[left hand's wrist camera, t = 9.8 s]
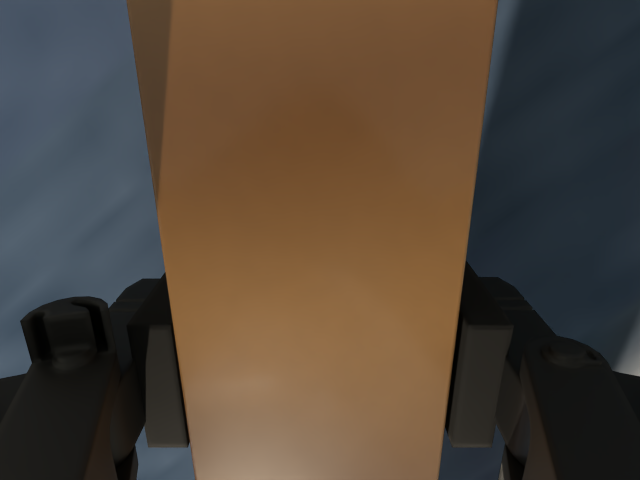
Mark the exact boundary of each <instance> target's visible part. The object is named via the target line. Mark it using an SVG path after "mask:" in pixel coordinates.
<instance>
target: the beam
mask: <svg viewBox="0 0 640 480" xmlns="http://www.w3.org/2000/svg"><path fill="white" fill-rule="evenodd" d="M497 6H498V0H127V7H128V14H129V21H130V28H131V35H132V42H133V49H134V56H135V63H136V70H137V77H138V84H139V91H140V98H141V105H142V112H143V119H144V126H145V133H146V140H147V147H148V154H149V160H150V167H151V174H152V181H153V188H154V195H155V202H156V209H157V216H158V223H159V230H160V237H161V244H162V251H163V258H164V265H165V272H166V279H167V286H168V293H169V300H170V307H171V314H172V321H173V328H174V335H175V342H176V348H177V355H178V362H179V369H180V376H181V383H182V390H183V397H184V404H185V411H186V418H187V425H188V432H189V439H190V446H191V453H192V460H193V467H194V474H195V480H438V477H439V469H440V461H441V453H442V445H443V437H444V429H445V421H446V413H447V405H448V397H449V389H450V381H451V374H452V366H453V358H454V350H455V342H456V334H457V326H458V318H459V310H460V302H461V294H462V286H463V278H464V270H465V262H466V254H467V246H468V238H469V230H470V222H471V214H472V206H473V198H474V190H475V182H476V174H477V166H478V158H479V150H480V142H481V134H482V126H483V118H484V110H485V102H486V94H487V86H488V78H489V70H490V62H491V54H492V46H493V38H494V30H495V22H496V14H497Z"/></svg>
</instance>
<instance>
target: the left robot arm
mask: <svg viewBox="0 0 640 480" xmlns="http://www.w3.org/2000/svg"><path fill="white" fill-rule="evenodd" d="M20 322H21V326H22V329H23V333H24V336H25V340H26V343H27V347H28V351H29V354H30V358H31V361H32V364H31V366H30V368H29V370H28V372H27V373H26V374H22V375H17V376H12V377H6V378H1V379H0V480H136V478H137V470H138V458H137V452H136V447H135V443H136V441H137V439H138V437H139V435H140V433H141V431H142V429H143V427H144V426H145V432H146V437H147V443H148V447H188V445H189V442H190V439H189V432H188V425H187V418H186V411H185V404H184V397H183V390H182V383H181V376H180V369H179V362H178V355H177V348H176V342H175V335H174V328H173V321H172V314H171V307H170V300H169V293H168V286H167V279H166V272H165V273H164V275H163V276H162V277H161V279H141V280H139V281H138V282H136V283H134V284H133V285H131V286H129V287H127V288H126V289H125V290H124V291H123V292H122V294H121V295H120V296H119V297H118V298H117V299H116V302H114V303H113V304H112V305H111V306H110V308H109V309H108V304H107V303H106V302H105V301H103V300H102V299H100V298H95V297H89V296H87V297H71V298H66V299H61V300H57V301H54V302H51V303H48V304H45V305H42V306H40V307H38V308H37V309H35V310H33V311H31V312H29V313H28V314H27V315H26V316H25V317H24V318H23V319H22V320H21V321H20ZM496 424H497V426H498V428H499V430H500V433H501V435H502V437H503V439H504V441H505V447H504V452H503V457H502V463H501V468H500V473H499V478H498V480H640V377H639V376H634V375H629V374H624V373H619V372H615V371H612V369H611V367H610V365H609V364H608V362H607V361H606V360H605V359H604V357H603V356H602V355H601V354H600V353H598V352H597V351H595V350H594V349H592V348H591V347H589V346H588V345H585V344H583V343H580V342H578V341H575V340H573V339H569V338H564V337H560V336H556V334H555V333H554V332H553V331H552V330H551V329H550V328H549V326H548V325H547V324H546V323H545V322H544V321H543V319H542V318H541V317H540V316H539V315H538V314H537V312H536V311H535V310H532V307H531V306H530V304H529V303H528V302H527V301H526V300H524V297H523V296H522V295H521V294H520V293H519V292H518V290H517V289H516V288H515V287H514V286H512V285H510V284H509V283H507V282H505V281H503V280H502V279H500V278H498V277H478V276H477V275H476V273H475V272H474V271H473V269H472V268H471V267H470V265H469V264H468V262H467V261H466V262H465V270H464V278H463V286H462V294H461V302H460V310H459V318H458V326H457V334H456V342H455V350H454V358H453V366H452V374H451V381H450V389H449V397H448V405H447V413H446V421H445V428H446V431H447V433H448V436H449V439H450V442H451V445H452V447H492V443H493V437H494V431H495V426H496Z"/></svg>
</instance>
